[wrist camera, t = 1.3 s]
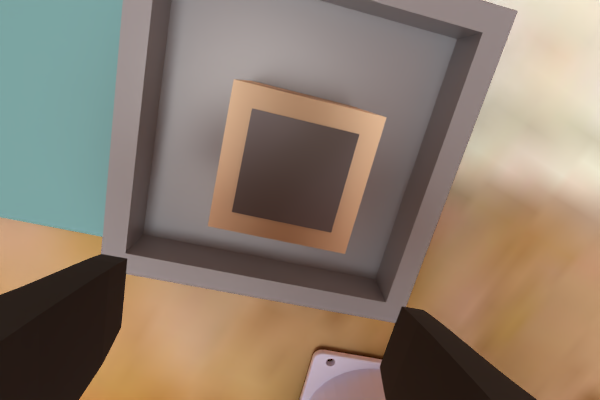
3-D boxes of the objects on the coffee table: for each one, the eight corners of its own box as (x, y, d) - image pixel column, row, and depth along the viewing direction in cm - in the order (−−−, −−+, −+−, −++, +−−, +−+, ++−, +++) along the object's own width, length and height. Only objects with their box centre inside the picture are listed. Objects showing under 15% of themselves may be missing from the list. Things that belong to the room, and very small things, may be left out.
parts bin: (482, 22, 16) (517, 11, 13) (385, 294, 20) (399, 323, 17) (157, -73, 14) (131, -105, 12) (123, 244, 18) (99, 269, 16)
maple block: (350, 105, 16) (387, 117, 11) (324, 198, 18) (344, 254, 12) (251, 80, 16) (233, 79, 10) (233, 178, 17) (207, 226, 11)
